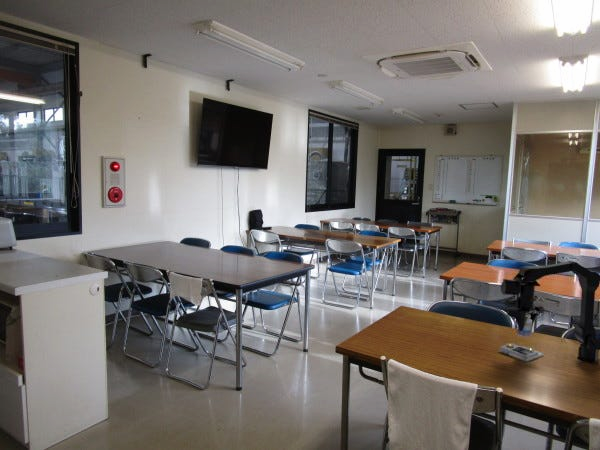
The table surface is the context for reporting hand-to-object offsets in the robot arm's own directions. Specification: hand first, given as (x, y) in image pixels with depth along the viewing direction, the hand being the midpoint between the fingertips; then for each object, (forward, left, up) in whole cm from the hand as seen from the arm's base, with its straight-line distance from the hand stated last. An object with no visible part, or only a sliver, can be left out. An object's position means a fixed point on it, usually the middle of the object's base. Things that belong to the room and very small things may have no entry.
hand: (524, 329), depth 186 cm
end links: (+2, -2, -12) cm, 12 cm away
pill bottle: (0, 0, -3) cm, 3 cm away
